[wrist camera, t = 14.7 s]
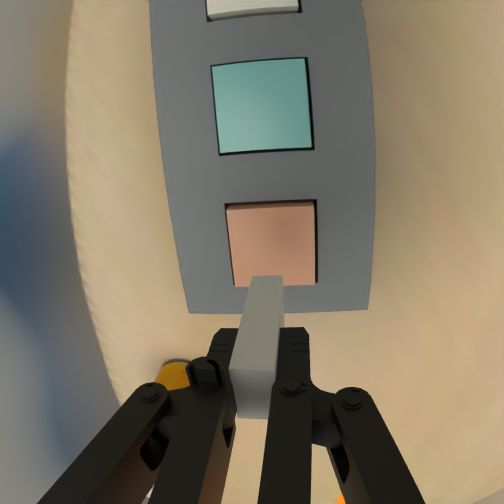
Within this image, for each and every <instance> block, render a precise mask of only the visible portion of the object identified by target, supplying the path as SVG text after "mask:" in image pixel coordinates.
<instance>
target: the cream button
mask: <svg viewBox="0 0 504 504" xmlns="http://www.w3.org/2000/svg"><path fill="white" fill-rule="evenodd" d="M207 12H208V16H209V17H210V18H211V19H212V21H219V20H226V19H233V18H241V17H250V16H261V15H273V14H292V13H298V1H297V0H207Z"/></svg>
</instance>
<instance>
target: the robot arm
mask: <svg viewBox="0 0 504 504" xmlns="http://www.w3.org/2000/svg"><path fill="white" fill-rule="evenodd" d="M185 369H186V373H187V376H188V379H189V383H190V386H187V387H185V388H180V389H174V390H167V388H166V387H165V386H164V385H162V384H160V383H156V382H151V383H146V384H143V385H141V386H140V387H138V388H137V389H136V390H135V391H134V392H133V393H132V395H131V396H130V397H129V398H128V399H127V400H126V402H125V403H124V404H123V405H122V406H121V407H120V409H119V410H118V411H117V412H116V413H115V414H114V416H113V417H112V418H111V419H110V420H109V421H108V422H107V424H106V425H105V426H104V427H103V428H102V429H101V430H100V432H99V433H98V434H97V435H96V436H95V437H94V439H93V440H92V441H91V442H90V443H89V444H88V446H87V447H86V448H85V449H84V450H83V451H82V452H81V454H80V455H79V456H78V457H77V458H76V459H75V461H74V462H73V463H72V464H71V465H70V466H69V467H68V469H67V470H66V471H65V472H64V473H63V474H62V475H61V477H60V478H59V479H58V480H57V481H56V482H55V484H54V485H53V486H52V487H51V488H50V489H49V490H48V491H47V493H46V494H45V495H44V496H43V497H42V498H41V499H40V501H39V502H38V503H37V504H141V503H142V502H143V500H144V499H145V497H146V496H147V494H148V493H149V491H150V490H151V489H152V487H153V486H154V487H153V490H152V492H151V495H150V498H149V501H148V504H221V501H222V496H223V491H224V486H225V481H226V476H227V472H228V467H229V462H230V457H231V452H232V447H233V441H234V436H235V431H236V425H235V416H236V411H237V416H238V418H248V419H268V425H267V434H266V442H265V450H264V458H263V466H262V473H261V481H260V488H259V495H258V503H257V504H310V501H311V460H312V444H316V445H320V446H324V447H326V448H327V451H328V454H329V457H330V460H331V463H332V466H333V469H334V472H335V475H336V477H337V480H338V483H339V486H340V489H341V492H342V495H343V498H344V501H345V504H425V502H424V500H423V498H422V496H421V493H420V491H419V489H418V487H417V485H416V483H415V481H414V479H413V477H412V475H411V473H410V471H409V469H408V467H407V465H406V463H405V461H404V459H403V457H402V455H401V453H400V451H399V449H398V447H397V445H396V443H395V441H394V439H393V438H392V436H391V434H390V432H389V430H388V428H387V426H386V424H385V422H384V420H383V418H382V416H381V414H380V413H379V411H378V409H377V407H376V405H375V403H374V401H373V399H372V397H371V396H370V395H369V394H368V392H367V391H365V390H363V389H361V388H357V387H347V388H344V389H341V390H339V391H338V392H337V393H336V394H334V393H329V392H325V391H322V390H320V389H319V388H317V387H316V386H315V385H314V384H313V383H312V381H311V377H310V349H309V334H308V333H307V331H306V330H305V328H304V327H287V328H284V297H283V275H273V276H252V278H251V282H250V286H249V290H248V294H247V298H246V302H245V306H244V310H243V314H242V318H241V322H240V326H239V328H221V329H220V330H219V331H218V332H217V333H216V334H215V335H214V337H213V339H212V342H211V345H210V348H209V352H208V354H207V356H206V357H199V358H196V359H194V360H192V361H191V362H189V363H188V364H187V366H186V367H185Z"/></svg>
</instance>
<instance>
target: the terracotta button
mask: <svg viewBox="0 0 504 504" xmlns="http://www.w3.org/2000/svg"><path fill="white" fill-rule="evenodd" d="M226 212H227V221H228V230H229V239H230V247H231V256H232V264H233V273H234V281H235V287H249V286H250V282H251V278H252V276H273V275H283V286H292V285H315V231H314V205H313V201H312V199H298V200H275V201H255V202H238V203H231V204H230V206H229V207H228V208H227V210H226Z"/></svg>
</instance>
